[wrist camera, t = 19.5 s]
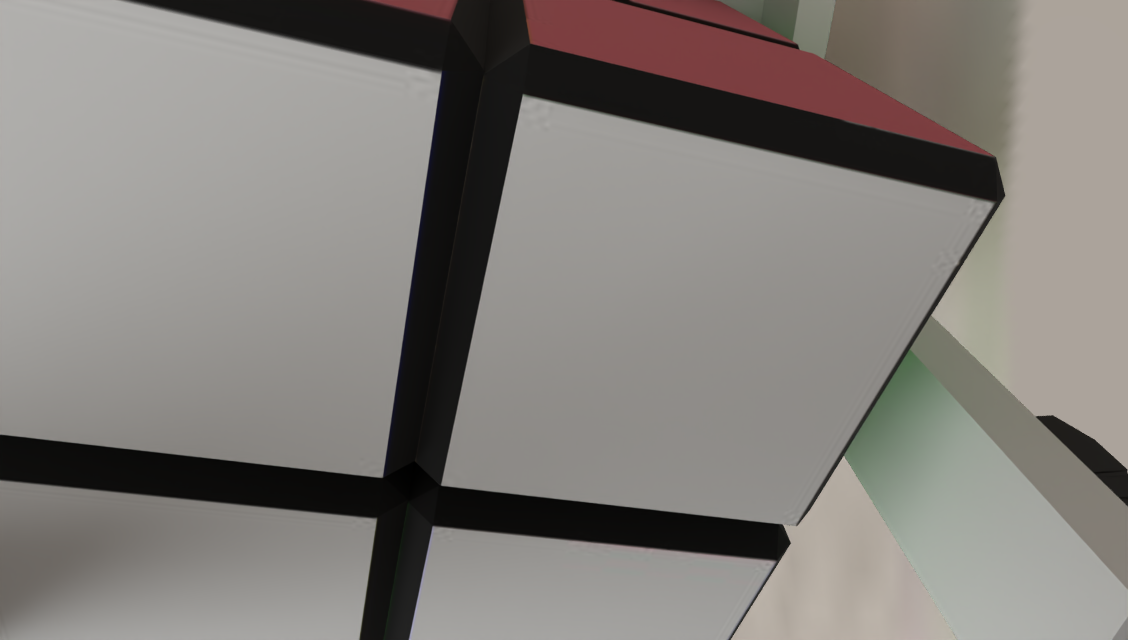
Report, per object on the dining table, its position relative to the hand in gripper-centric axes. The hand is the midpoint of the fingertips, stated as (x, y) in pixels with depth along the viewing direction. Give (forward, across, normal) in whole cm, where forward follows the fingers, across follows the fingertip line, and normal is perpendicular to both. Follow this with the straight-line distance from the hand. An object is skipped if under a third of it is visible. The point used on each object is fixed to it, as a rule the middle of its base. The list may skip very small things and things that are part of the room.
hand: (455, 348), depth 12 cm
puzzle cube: (+6, 0, -1) cm, 6 cm away
